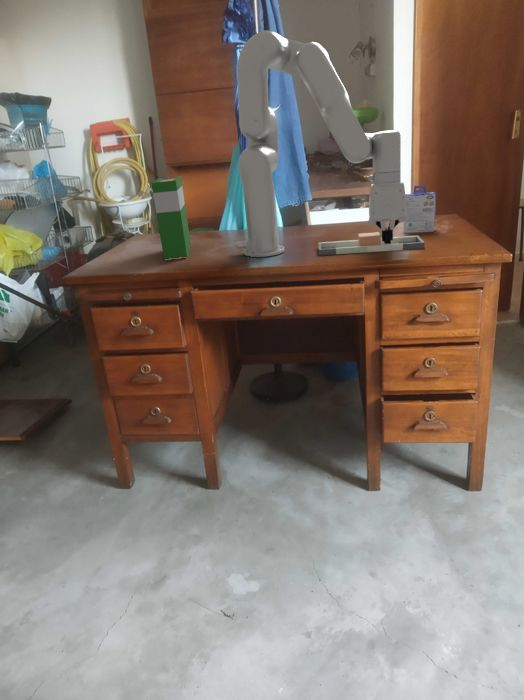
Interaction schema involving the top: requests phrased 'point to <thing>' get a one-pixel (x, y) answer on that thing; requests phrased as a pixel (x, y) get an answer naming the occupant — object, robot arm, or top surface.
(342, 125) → the robot arm
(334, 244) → the track
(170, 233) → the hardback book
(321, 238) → the top surface
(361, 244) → the terracotta block
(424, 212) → the ink cartridge box
